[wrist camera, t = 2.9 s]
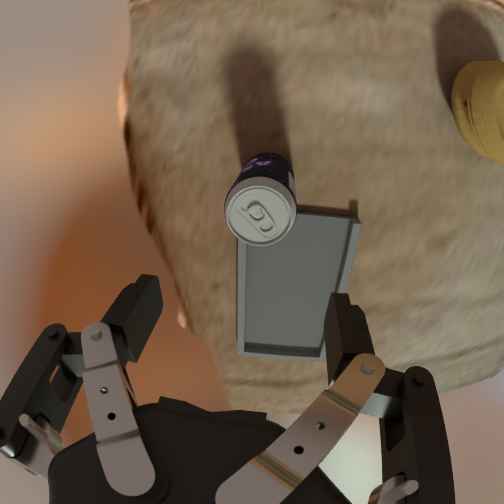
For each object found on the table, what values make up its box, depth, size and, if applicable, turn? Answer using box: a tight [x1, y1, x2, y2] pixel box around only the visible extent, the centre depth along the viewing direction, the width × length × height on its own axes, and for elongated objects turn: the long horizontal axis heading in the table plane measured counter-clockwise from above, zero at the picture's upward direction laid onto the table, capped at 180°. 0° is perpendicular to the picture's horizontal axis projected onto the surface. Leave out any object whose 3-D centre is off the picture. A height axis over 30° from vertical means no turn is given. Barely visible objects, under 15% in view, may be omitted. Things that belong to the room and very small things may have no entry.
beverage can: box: [224, 153, 297, 246], centre depth 26 cm, size 6×6×12 cm
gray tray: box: [238, 211, 362, 362], centre depth 38 cm, size 24×14×2 cm, turn 178°
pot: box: [451, 60, 504, 164], centre depth 19 cm, size 12×12×10 cm
